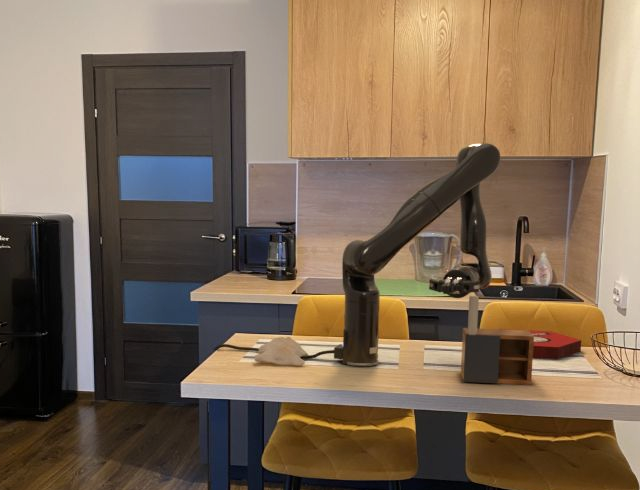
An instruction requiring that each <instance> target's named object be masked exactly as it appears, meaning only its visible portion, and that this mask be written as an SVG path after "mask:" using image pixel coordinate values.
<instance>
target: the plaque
mask: <svg viewBox="0 0 640 490" xmlns="http://www.w3.org/2000/svg"><path fill="white" fill-rule="evenodd" d="M504 329H505V330H518V328H517V329H515V328H514V329H513V328H504ZM528 330H529V332H530V333H531V334H532V335H533V336H534V345H533V359H544V360H557V361H558V360H560V359H563V358H567V357H569V356H573V355H576V354H579V353H581V352H582V339H579V338H575V337H572V336H570V335H569V336H568V335H565V334H561V333H559V332H555V331H551V330H534V329H533V330H532V329H528Z"/></svg>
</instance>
